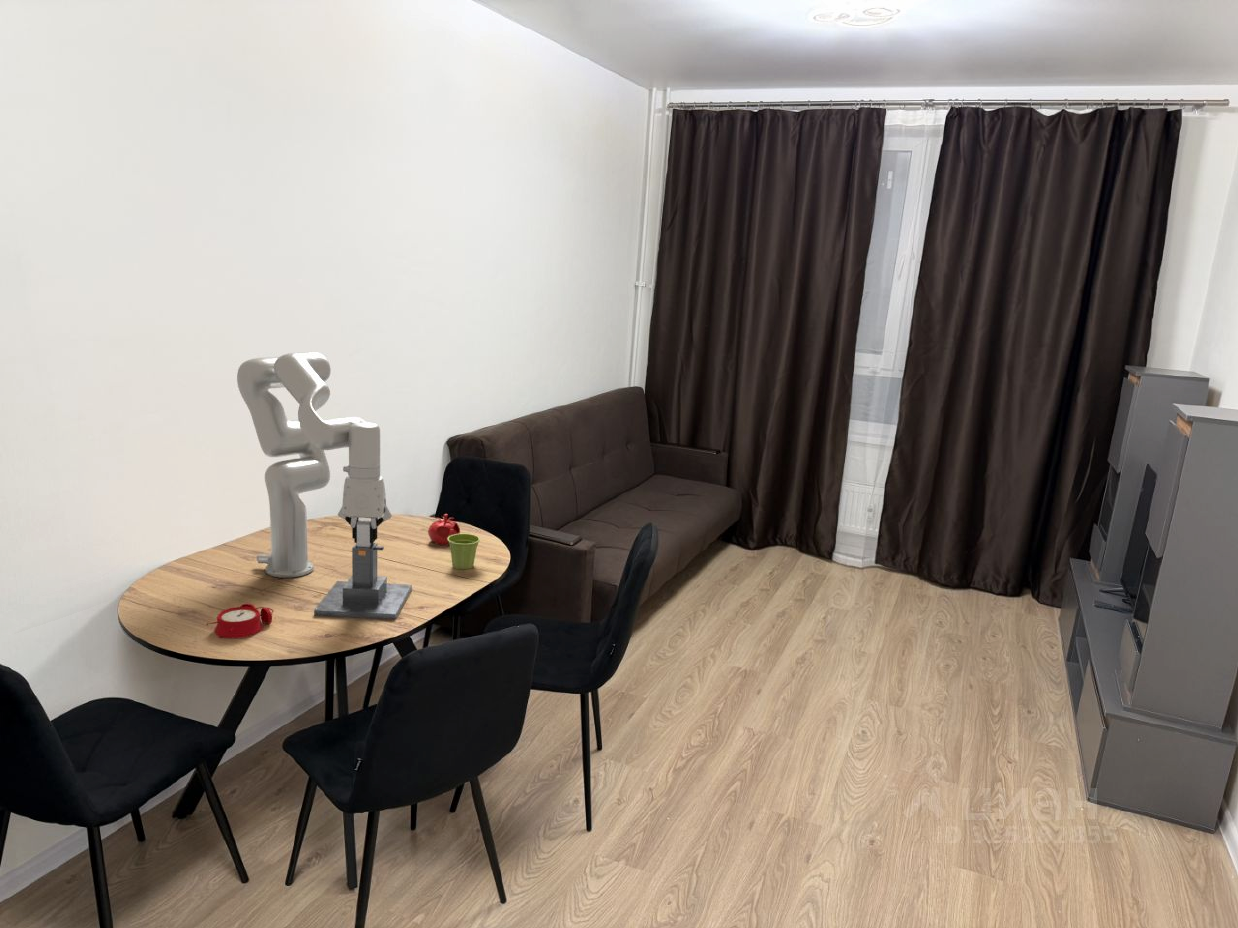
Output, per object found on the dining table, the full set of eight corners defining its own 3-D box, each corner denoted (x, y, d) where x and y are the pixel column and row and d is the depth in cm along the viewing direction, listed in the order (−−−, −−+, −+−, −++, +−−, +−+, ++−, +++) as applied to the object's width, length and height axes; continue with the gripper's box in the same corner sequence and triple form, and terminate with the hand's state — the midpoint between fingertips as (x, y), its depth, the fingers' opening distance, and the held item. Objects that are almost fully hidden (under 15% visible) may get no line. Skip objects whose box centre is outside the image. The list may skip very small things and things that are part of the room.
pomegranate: (422, 541, 274) (422, 513, 271) (450, 535, 280) (449, 508, 278) (438, 549, 266) (438, 520, 264) (466, 543, 273) (466, 515, 271)
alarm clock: (199, 620, 198) (248, 586, 211) (206, 642, 201) (253, 608, 213) (234, 630, 195) (281, 595, 207) (240, 652, 197) (286, 616, 210)
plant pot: (485, 565, 256) (486, 537, 254) (467, 574, 247) (467, 545, 245) (459, 558, 259) (459, 531, 257) (440, 567, 251) (440, 539, 249)
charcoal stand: (314, 615, 213) (313, 556, 209) (337, 586, 232) (336, 531, 229) (395, 619, 214) (395, 560, 210) (411, 589, 233) (412, 535, 230)
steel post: (356, 584, 220) (356, 522, 216) (360, 579, 223) (359, 518, 220) (370, 584, 220) (369, 522, 216) (373, 579, 224) (373, 518, 220)
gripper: (327, 473, 211) (328, 544, 215) (394, 477, 212) (394, 548, 216) (335, 466, 218) (336, 535, 223) (401, 470, 219) (400, 538, 223)
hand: (364, 541), depth 219 cm, fingers closed on steel post, 3 cm apart
